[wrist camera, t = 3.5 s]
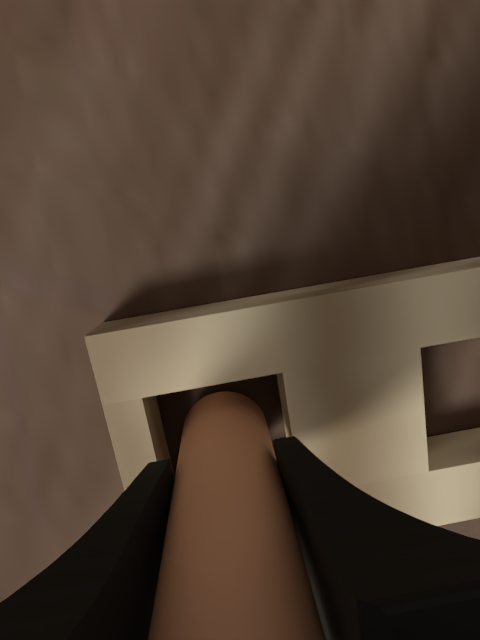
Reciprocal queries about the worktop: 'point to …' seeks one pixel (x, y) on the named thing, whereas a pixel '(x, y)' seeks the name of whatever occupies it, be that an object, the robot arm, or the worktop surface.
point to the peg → (231, 536)
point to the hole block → (313, 378)
